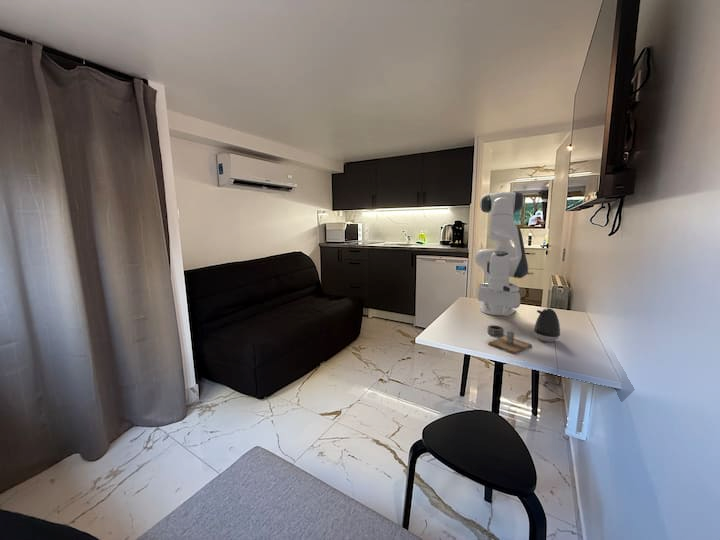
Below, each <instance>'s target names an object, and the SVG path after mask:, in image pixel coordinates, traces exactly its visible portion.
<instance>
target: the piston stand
mask: <svg viewBox="0 0 720 540" xmlns="http://www.w3.org/2000/svg"><path fill="white" fill-rule="evenodd" d="M488 345H489V346H491V347H494V348H497V349H499V350H502V351H505V352H507V353H510V354H513V355H515V354H518V353H520V352H522V351H524V350H527V349H529V348H531V347H532V346H533V345H532V343H529V342H526V341H523V340H520V339H516V338H515V332H513V331H507V333H506V335H503V336H501V337H499V338H496V339H493V340H491V341H489V342H488Z"/></svg>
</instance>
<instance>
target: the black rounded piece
mask: <svg viewBox="0 0 720 540" xmlns="http://www.w3.org/2000/svg"><path fill="white" fill-rule="evenodd" d="M536 312H537V313H538V314H539V315H538V317H537V318H536V319H537V320H535V321H536V322H535V325H534V329H533V330H534V333H535V336H536V338H537V339H539V340H540V341H541V342H546V343H552V342H556V341H557V340H558V339H559V337H560V335H561V324H560V320H559V317H558V315H557V313H556V311H555V310H554V309H552V308H544V309H543V310H538V309H537V310H536Z"/></svg>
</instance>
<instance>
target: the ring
mask: <svg viewBox="0 0 720 540" xmlns="http://www.w3.org/2000/svg"><path fill="white" fill-rule="evenodd" d="M487 334H488V335H491V336H494V337H500V336H501V337H503V336H504V328H503V327H502V326H500V325H494V324H491V325H488V326H487Z"/></svg>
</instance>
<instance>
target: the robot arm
mask: <svg viewBox="0 0 720 540" xmlns="http://www.w3.org/2000/svg"><path fill="white" fill-rule="evenodd" d="M524 204H525V197H524V194H523V193H522V192H518V191H515V192H512V191H505V192H504V191H502V192H494V193H486V194H483V195H482V197H481V199H480V201H479V207H480V210H481V211H482V212H483V213H487V214H488V213H490V214H489V223H488V224H489V225H488V239H489V240H490V241H491V242H492V243H494V244H495V246H496V248H483V249H479V250H477V252H476V254H475V256H474V259H475V263H476V265H478V266H479V267H480V268H481V270H482V271H483V273H484V277H485V281H484V282H481V283H480V284H479V285H478V290H477V291H478V292H477V300H478V302H481V303H480V306H479V307H478V308H479V310H480V312H482V314H483V313H484V314H487V315H490V316H491V315H492V316H504V317H505V316H507V317H508V316H509V317H510V315H512V314H513V313H515V312H516V311H517V309H518V308H519V307H520V306H521V295H520V292H519V291H520V286H518V285H516V284H513V283H512V282H510V278H514V279H515V278H516V279H522V278H525V276H527V275H528V274H529V263H528V260H527V256H526V251H525V250H526V248H525V245H524V239H523V235H522V231H521V228H520V227H518V226H517V225H516V224H515V222H514V215H515V214H516V213H517V212H520V211H521V210H522V209H523V207H524ZM511 242H512V243H513V245H514V246H513V245H512V243H511Z"/></svg>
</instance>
